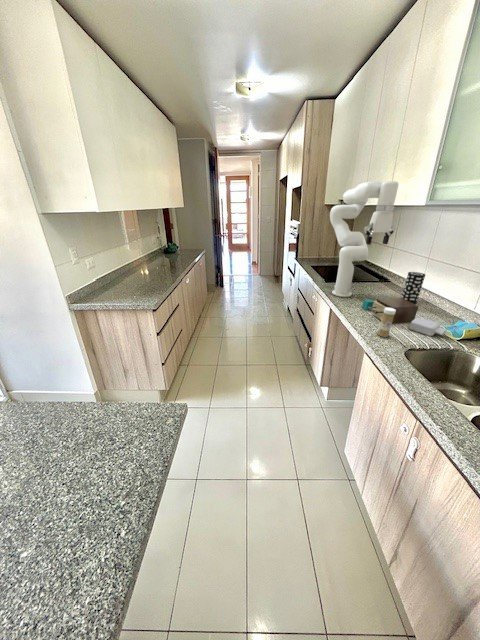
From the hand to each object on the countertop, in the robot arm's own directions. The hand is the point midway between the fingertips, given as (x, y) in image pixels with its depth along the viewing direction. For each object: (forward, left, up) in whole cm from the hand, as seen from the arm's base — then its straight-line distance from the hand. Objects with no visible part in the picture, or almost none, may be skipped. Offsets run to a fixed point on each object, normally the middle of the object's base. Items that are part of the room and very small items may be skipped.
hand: (376, 244), depth 137 cm
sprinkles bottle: (+33, -10, -37) cm, 50 cm away
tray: (+16, +3, -36) cm, 39 cm away
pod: (+2, +2, -37) cm, 37 cm away
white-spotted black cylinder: (+2, +28, -37) cm, 46 cm away
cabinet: (+16, +8, -37) cm, 41 cm away
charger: (+34, +14, -37) cm, 52 cm away
